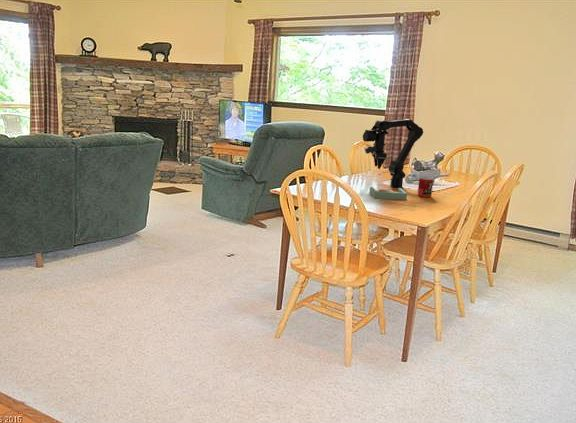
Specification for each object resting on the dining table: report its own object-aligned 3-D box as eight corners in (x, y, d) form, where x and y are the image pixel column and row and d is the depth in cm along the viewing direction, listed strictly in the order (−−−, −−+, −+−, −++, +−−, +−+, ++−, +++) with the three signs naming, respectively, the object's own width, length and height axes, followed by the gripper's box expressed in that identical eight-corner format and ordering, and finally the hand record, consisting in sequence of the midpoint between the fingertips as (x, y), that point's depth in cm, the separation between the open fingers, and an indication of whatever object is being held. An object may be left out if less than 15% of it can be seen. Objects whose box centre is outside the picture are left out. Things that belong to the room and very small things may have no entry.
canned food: (423, 198, 296) (426, 178, 293) (414, 195, 303) (416, 176, 300) (434, 197, 299) (436, 178, 297) (424, 194, 306) (426, 175, 304)
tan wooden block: (390, 195, 299) (391, 189, 298) (393, 198, 292) (394, 192, 292) (378, 195, 299) (379, 189, 298) (381, 198, 292) (381, 191, 291)
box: (400, 194, 304) (401, 188, 303) (406, 199, 290) (407, 193, 289) (369, 192, 303) (369, 186, 302) (373, 198, 289) (374, 192, 288)
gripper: (363, 139, 323) (361, 164, 326) (369, 142, 304) (366, 169, 308) (381, 140, 323) (379, 165, 327) (388, 143, 305) (385, 170, 309)
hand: (377, 167), depth 318 cm, fingers open, 9 cm apart
